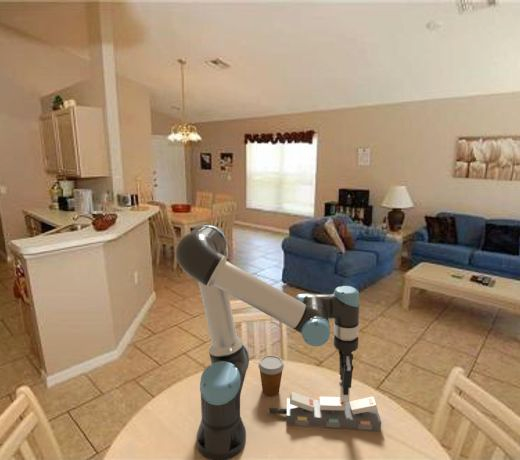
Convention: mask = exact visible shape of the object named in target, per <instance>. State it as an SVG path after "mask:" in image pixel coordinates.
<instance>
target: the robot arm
mask: <svg viewBox="0 0 520 460" xmlns="http://www.w3.org/2000/svg"><path fill="white" fill-rule="evenodd" d="M226 248H227V239H226V236H225V234H224V232H223V231H222V230H221V229H219V228H218V227H217V226H214V225H211V224H205V225H201V226H197V227H195V228H194V229H192V231H190V233H188V234H186V235H184V236H182V238H180V240H179V241H178V243H177V245H176V247H175V259H176V262H177V263H178V265H179V268H181V270H182V271H183V272H184V273H186V274H187V275H188V276H189V277H190V278H192V279H194V280H196V281H197V282H198V287H199V291H200V296H201V300H202V304H203V309H204V314H205V319H206V323H207V327H208V332H209V336H210V340H211V341H210V342H211V344H210V345H209V347H208V355H209V359H210V364H211V365H208V366H207V367H205V368H204V369H203V371H202V373H201V377H200V381H199V392H200V409H201V421H200V424H199V426H198V429H197V432H196V448H197V450H198V452H199V453H200V454H201V455H202V456H203V457H205V458H207V459H208V460H229V459H232V458H234V457H236V456H238V454H240V453H241V452H242V450H243V449H244V447H245V445H246V444H247V432H246V427H245V425H244V422H243V419H242V417H241V393H242V389H243V386H244V382H245V379H246V378H245V377H246V375H247V371H248V368H249V364H250V353H249V351H248V348H247V347H246V345H245V344H244V341H243V339H242V338H241V337H239V336H238V334H237V331H236V330H237V329H236V324H235V321H234V320H235V319H234V316H233V311H232V310H233V309H232V305H231V300H230V296H232V297H234V298H236V299H238V300H240V301H242V302H243V303H245V304H247V305H249V306H251V307H252V308H255V309H256V310H258V311H260V312H262V313H264V314H265V315H267V316H269V317H271V318H273V319H274V320H276V321H278V322H280V323H282V324H284V325H285V326H287V327H289V328H291V329H292V330H294V331H296V332H298V333H300V334H301V336H302V339H303V340H304V342H305V343H306V344H307V345H308V346H311V347H321V346H324V345H325V344H327V342H328V341H329V340H330V337H331V324H330V321H329V320H330V319H331V320H332V319H333V345H334V348H335V349H337V350H338V354H339V355H338V357H339V358H338V360H339V377H340V378H339V379H340V382H339V383H338V386H340V388H339V389H340V390H339V393H340V395H339V397H340V400H341V402H350V391H351V388H352V379H353V371H354V365H353V360H354V354H353V352H356V351H357V350H358V348H359V329H361V325H360V323H359V322H360V321H359V320H360V307H361V306H360V305H361V304H360V292H359V290H358V289H357V288H356V287H354V286H350V285H342V286H337V287H336V288H335V289H334V291H333V293H309V292H307V293H298V294H296V296H295V298H294V297H293V296H291V295H289V294H287V293H285V292H284V291H283V290H280V289H278V288H277V287H274V286H273V285H271V284H269V283H267V282H265V281H263V280H262V279H260V278H258V277H256V276H255V275H253V274H252V273H249V272H247V271H246V270H244V269H242V268H240V267H238V266H237V265H234V264H232V263H231V262H230V261H227V257H226V252H225V251H226Z"/></svg>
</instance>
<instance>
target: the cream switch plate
mask: <svg viewBox="0 0 520 460" xmlns="http://www.w3.org/2000/svg"><path fill="white" fill-rule="evenodd" d="M319 400H320V408H321V410H345V411H346V405H345V402H341V400H340V396H319Z"/></svg>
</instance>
